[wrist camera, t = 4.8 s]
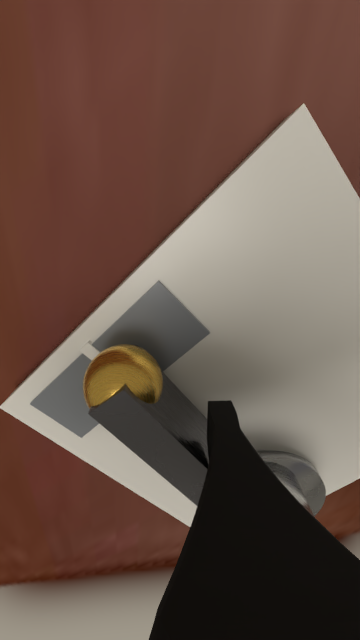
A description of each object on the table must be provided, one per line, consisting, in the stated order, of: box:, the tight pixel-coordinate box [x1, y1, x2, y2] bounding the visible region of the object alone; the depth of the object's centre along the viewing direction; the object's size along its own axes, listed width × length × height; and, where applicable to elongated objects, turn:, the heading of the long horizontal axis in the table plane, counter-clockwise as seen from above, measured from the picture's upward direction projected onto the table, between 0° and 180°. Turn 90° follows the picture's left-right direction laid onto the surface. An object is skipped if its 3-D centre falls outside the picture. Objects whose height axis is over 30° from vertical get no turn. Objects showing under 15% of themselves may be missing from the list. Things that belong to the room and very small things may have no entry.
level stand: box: [0, 104, 360, 527], centre depth 14 cm, size 18×18×2 cm
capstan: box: [83, 344, 326, 518], centre depth 11 cm, size 17×7×5 cm, turn 37°
